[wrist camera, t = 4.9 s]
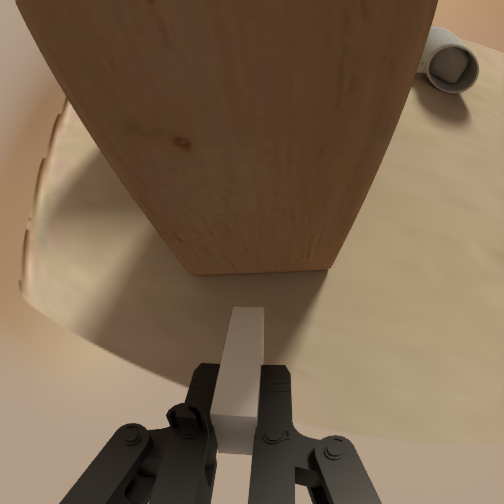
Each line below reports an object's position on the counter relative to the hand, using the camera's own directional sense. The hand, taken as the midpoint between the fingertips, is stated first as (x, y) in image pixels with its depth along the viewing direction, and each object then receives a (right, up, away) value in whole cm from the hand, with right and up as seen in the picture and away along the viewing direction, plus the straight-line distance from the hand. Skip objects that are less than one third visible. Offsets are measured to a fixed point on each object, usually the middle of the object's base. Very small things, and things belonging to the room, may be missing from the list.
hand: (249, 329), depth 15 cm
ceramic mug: (+24, +28, +15) cm, 40 cm away
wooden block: (+1, +7, +8) cm, 11 cm away
